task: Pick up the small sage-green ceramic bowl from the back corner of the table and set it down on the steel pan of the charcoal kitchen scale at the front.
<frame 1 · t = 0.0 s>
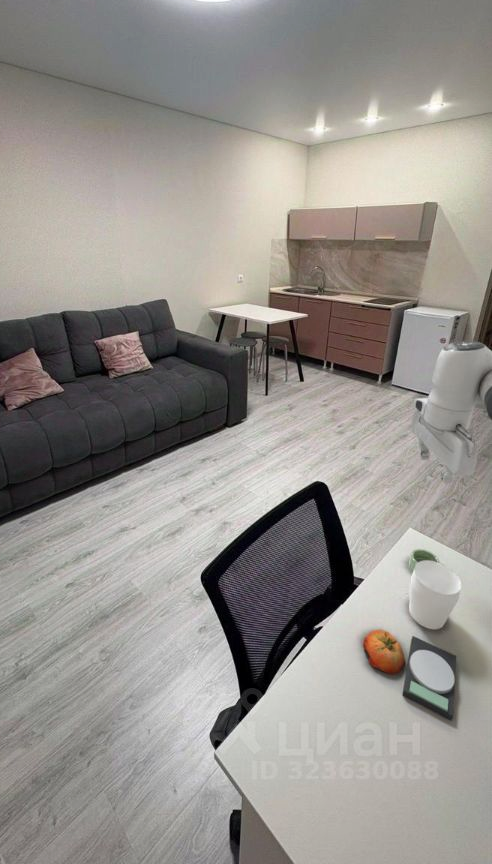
hand: (434, 469, 92), 27 cm above the table, tool pointing down, fingers open, 8 cm apart
cup: (425, 618, 88), on the table
scale: (428, 681, 75), on the table
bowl: (421, 572, 99), on the table
tomato: (382, 658, 80), on the table
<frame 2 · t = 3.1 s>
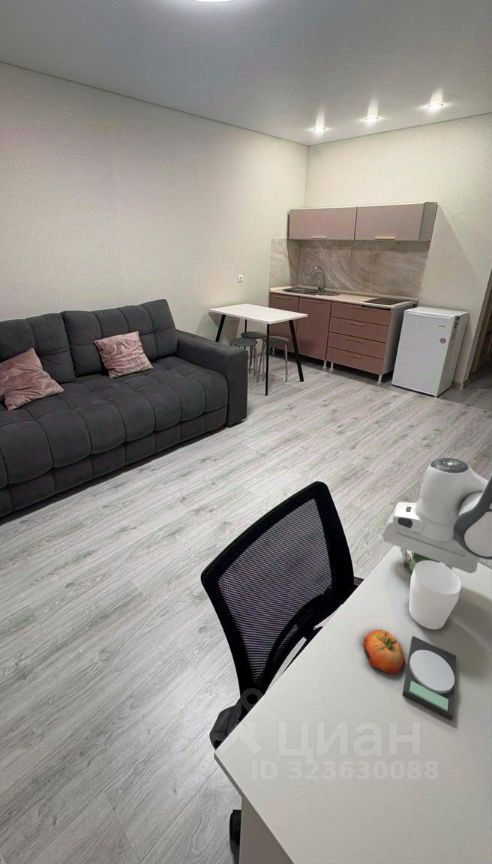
hand: (422, 567, 98), 2 cm above the table, tool pointing down, fingers closed on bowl, 6 cm apart
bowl: (421, 572, 99), on the table, touching gripper
everything else where it was.
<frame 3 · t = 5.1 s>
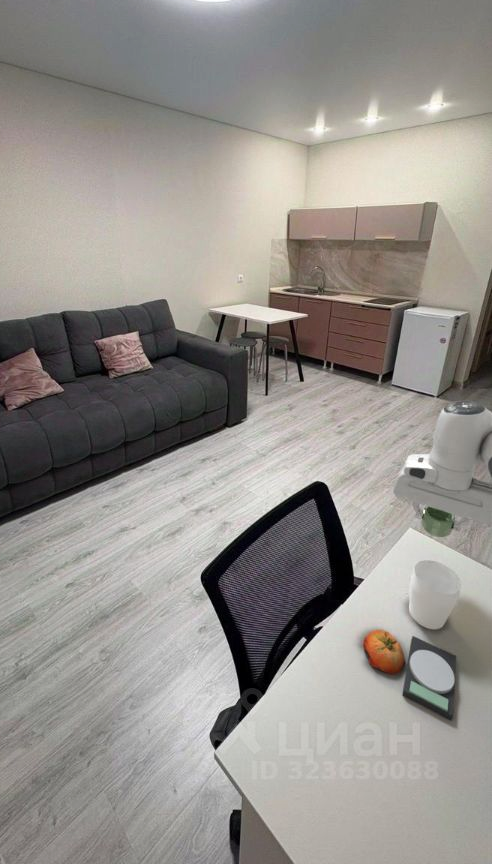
hand: (436, 523, 93), 16 cm above the table, tool pointing down, fingers closed on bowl, 6 cm apart
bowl: (435, 528, 93), point 14 cm above the table, touching gripper
everything else where it was.
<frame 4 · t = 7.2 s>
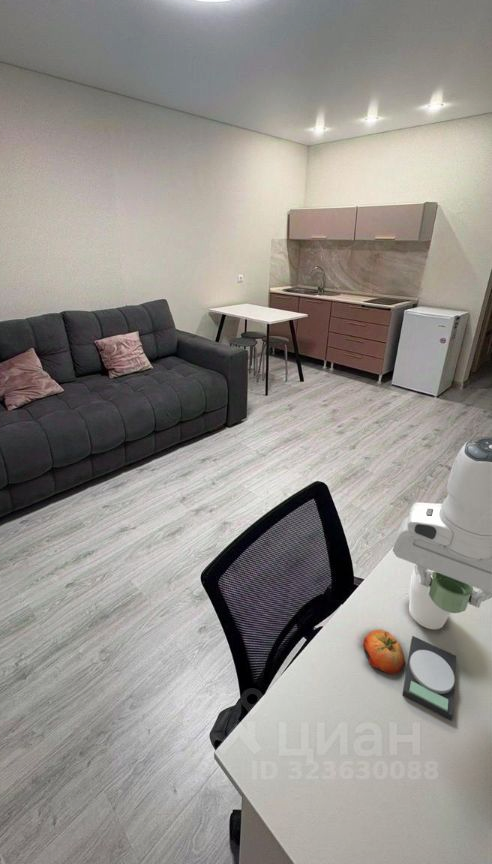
hand: (448, 593, 71), 19 cm above the table, tool pointing down, fingers closed on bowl, 6 cm apart
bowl: (446, 599, 72), point 17 cm above the table, touching gripper
everything else where it was.
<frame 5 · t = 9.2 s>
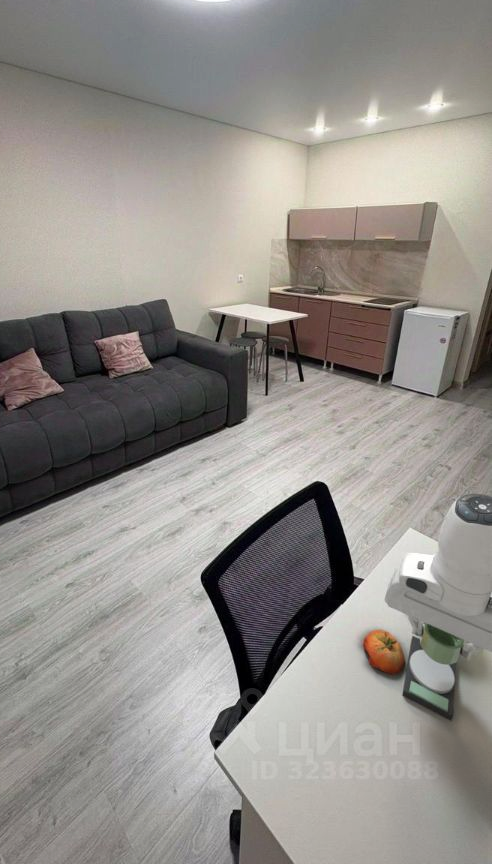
hand: (439, 643, 72), 10 cm above the table, tool pointing down, fingers closed on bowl, 6 cm apart
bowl: (438, 649, 72), point 9 cm above the table, touching gripper
everything else where it was.
when the fingers open (5 cm above the table, at t = 11.1 s): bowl stays where it is, resting on scale.
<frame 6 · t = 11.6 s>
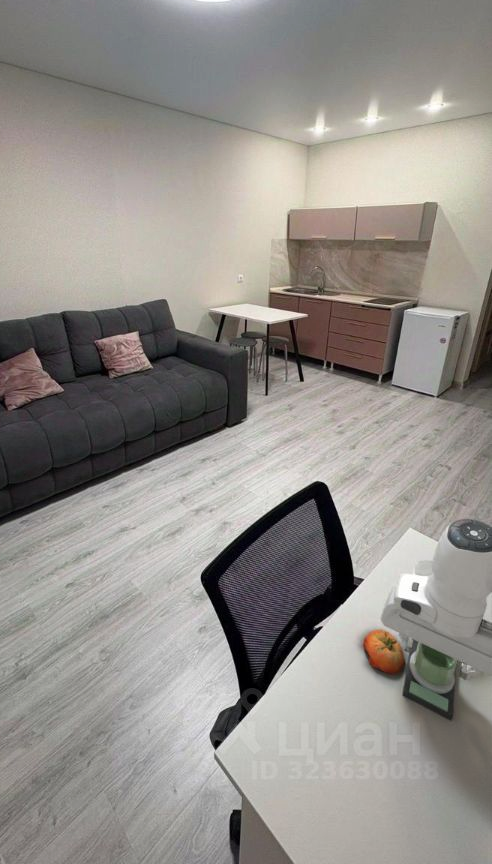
hand: (434, 661, 74), 5 cm above the table, tool pointing down, fingers open, 8 cm apart
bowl: (432, 669, 74), point 3 cm above the table, touching scale
everything else where it was.
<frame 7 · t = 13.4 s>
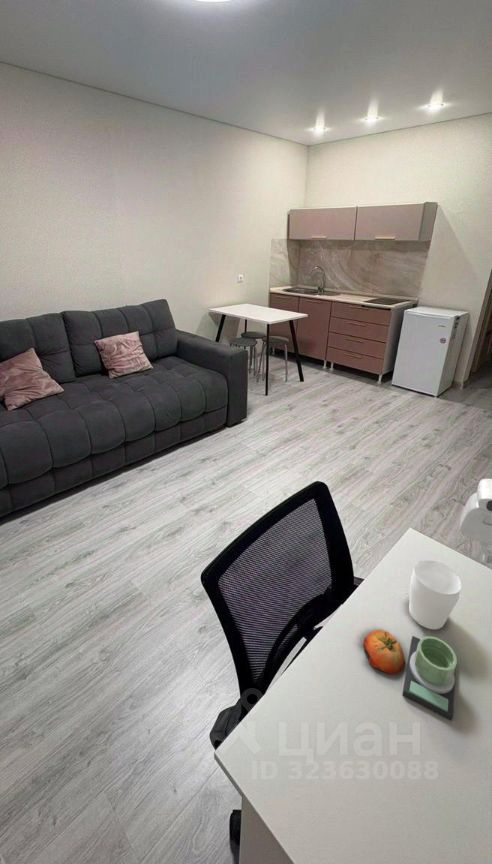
nothing on the table moved.
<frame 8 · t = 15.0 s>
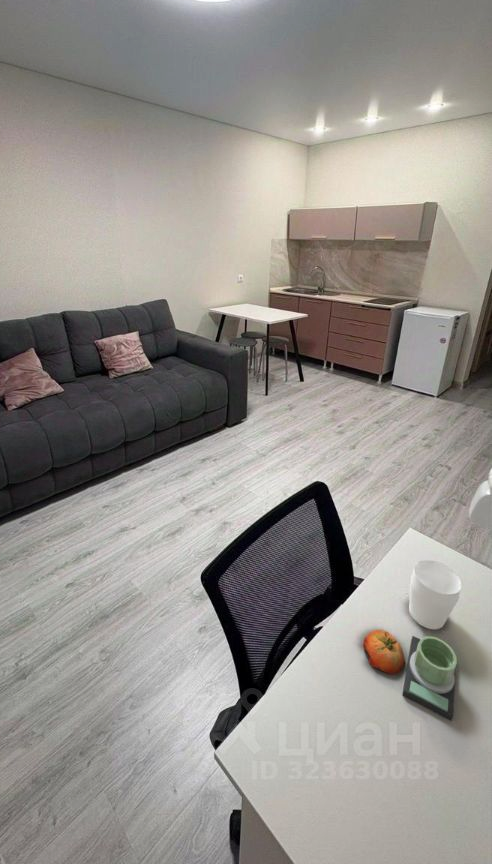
nothing on the table moved.
at the end: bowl 0.0 cm off-centre on the scale, point 3.3 cm above the scale's base; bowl tilted 0°; the gripper is holding nothing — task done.
